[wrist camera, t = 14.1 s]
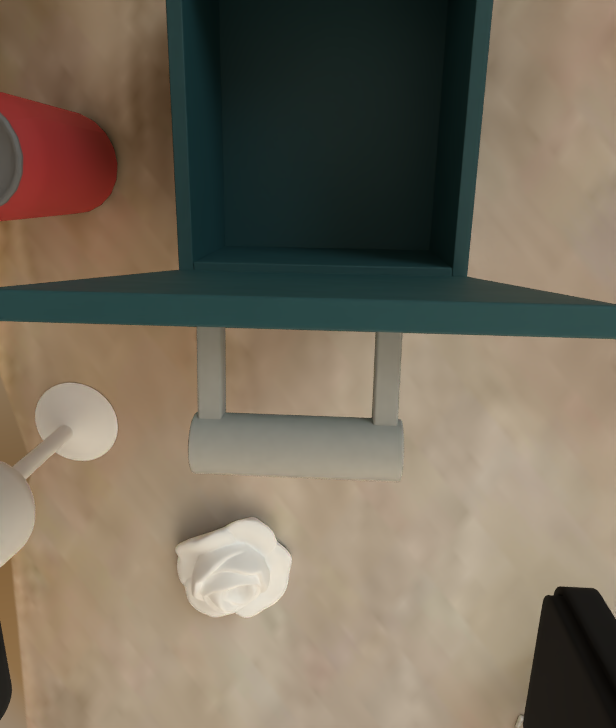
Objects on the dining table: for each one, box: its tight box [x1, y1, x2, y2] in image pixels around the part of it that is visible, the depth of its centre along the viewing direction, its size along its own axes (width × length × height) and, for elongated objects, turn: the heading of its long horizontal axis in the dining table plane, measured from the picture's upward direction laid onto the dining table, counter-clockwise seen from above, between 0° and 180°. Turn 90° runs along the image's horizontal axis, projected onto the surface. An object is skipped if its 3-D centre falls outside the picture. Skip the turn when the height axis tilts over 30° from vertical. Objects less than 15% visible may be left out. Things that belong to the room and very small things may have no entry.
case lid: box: [0, 270, 616, 482], centre depth 23 cm, size 17×16×5 cm
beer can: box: [0, 92, 117, 221], centre depth 34 cm, size 7×7×12 cm
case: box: [166, 0, 493, 277], centre depth 34 cm, size 17×16×10 cm
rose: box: [175, 517, 292, 618], centre depth 46 cm, size 10×4×10 cm
